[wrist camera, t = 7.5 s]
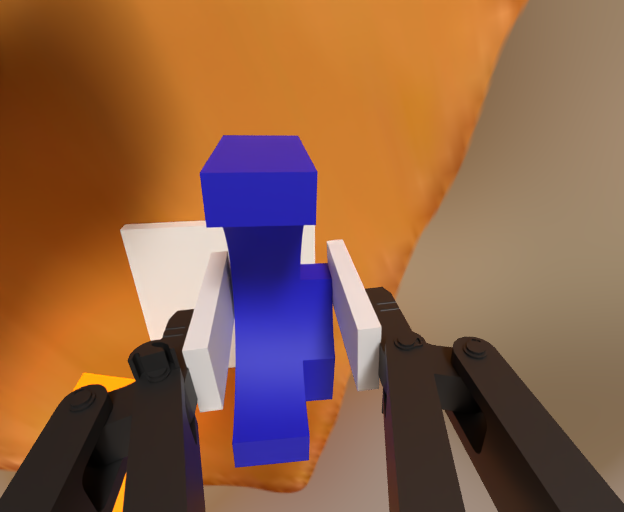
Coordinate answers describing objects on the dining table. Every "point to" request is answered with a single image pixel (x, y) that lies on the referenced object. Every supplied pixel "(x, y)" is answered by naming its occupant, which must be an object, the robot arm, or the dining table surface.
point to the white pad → (179, 267)
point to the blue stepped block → (272, 292)
